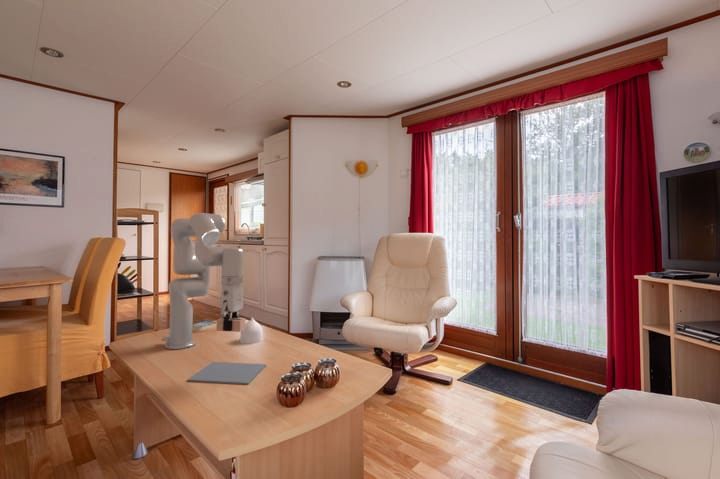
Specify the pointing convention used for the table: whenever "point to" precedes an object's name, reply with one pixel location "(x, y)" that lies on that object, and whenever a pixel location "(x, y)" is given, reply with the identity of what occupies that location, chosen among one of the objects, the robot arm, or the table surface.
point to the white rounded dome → (251, 332)
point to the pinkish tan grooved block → (237, 324)
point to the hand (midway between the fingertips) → (230, 328)
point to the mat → (228, 373)
